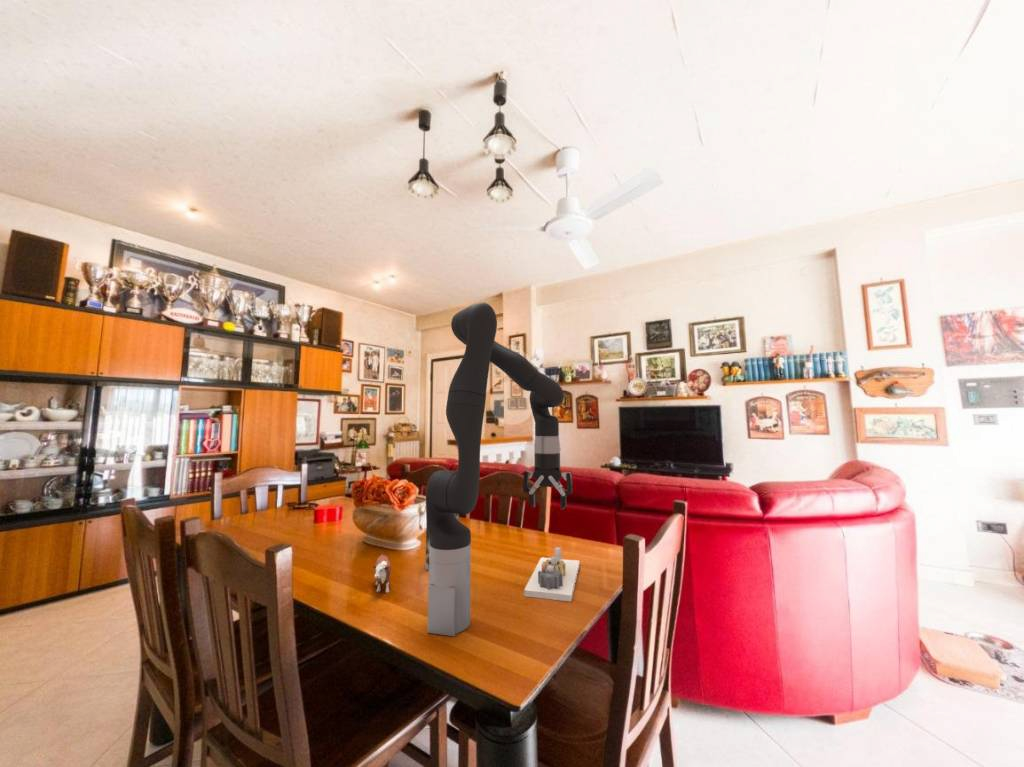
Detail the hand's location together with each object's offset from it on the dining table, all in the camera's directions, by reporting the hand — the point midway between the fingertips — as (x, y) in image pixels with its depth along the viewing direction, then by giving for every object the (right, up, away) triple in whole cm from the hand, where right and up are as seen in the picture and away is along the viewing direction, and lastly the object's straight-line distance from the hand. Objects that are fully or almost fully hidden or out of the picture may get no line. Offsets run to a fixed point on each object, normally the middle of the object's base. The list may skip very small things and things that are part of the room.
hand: (547, 508), depth 110 cm
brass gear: (+2, -18, -3) cm, 18 cm away
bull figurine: (-45, -19, -8) cm, 50 cm away
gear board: (+2, -19, -3) cm, 19 cm away
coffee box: (-32, -21, +7) cm, 39 cm away
